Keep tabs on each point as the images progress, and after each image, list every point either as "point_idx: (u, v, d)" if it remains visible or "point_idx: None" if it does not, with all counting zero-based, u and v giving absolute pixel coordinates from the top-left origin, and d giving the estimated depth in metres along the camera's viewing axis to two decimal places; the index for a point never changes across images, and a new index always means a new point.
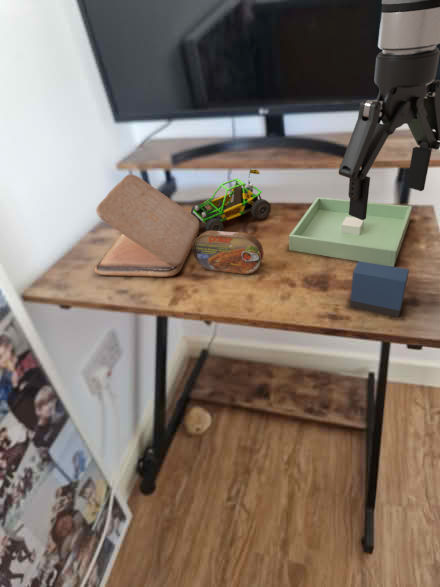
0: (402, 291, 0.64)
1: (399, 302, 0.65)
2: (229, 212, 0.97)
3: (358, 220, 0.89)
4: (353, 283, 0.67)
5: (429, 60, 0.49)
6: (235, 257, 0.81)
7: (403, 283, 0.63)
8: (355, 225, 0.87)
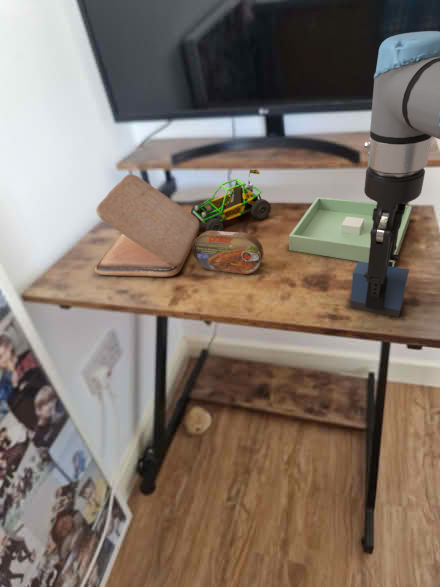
0: (402, 291, 0.64)
1: (399, 302, 0.65)
2: (229, 212, 0.97)
3: (358, 220, 0.89)
4: (353, 283, 0.67)
5: (423, 178, 0.54)
6: (235, 257, 0.81)
7: (403, 283, 0.63)
8: (355, 225, 0.87)
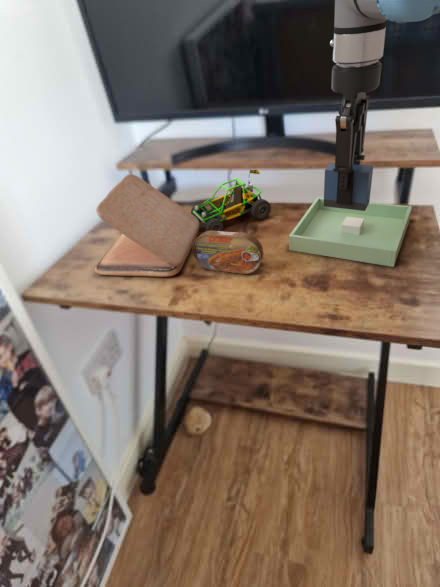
0: (367, 183, 0.73)
1: (365, 195, 0.74)
2: (229, 212, 0.97)
3: (358, 220, 0.89)
4: (325, 181, 0.76)
5: (379, 69, 0.63)
6: (235, 257, 0.81)
7: (367, 175, 0.72)
8: (355, 225, 0.87)
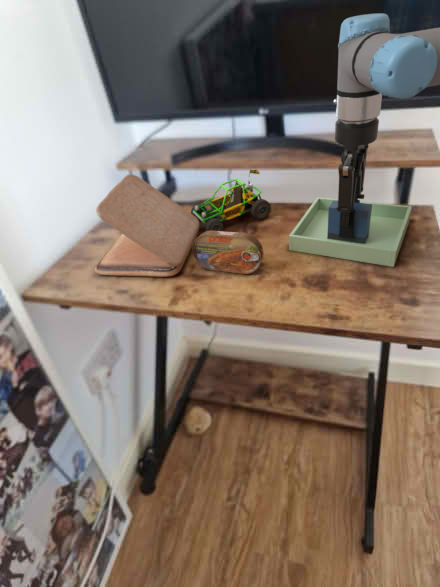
0: (366, 220, 0.81)
1: (364, 230, 0.83)
2: (229, 212, 0.97)
3: None
4: (329, 217, 0.85)
5: (377, 125, 0.71)
6: (235, 257, 0.81)
7: (366, 213, 0.81)
8: None
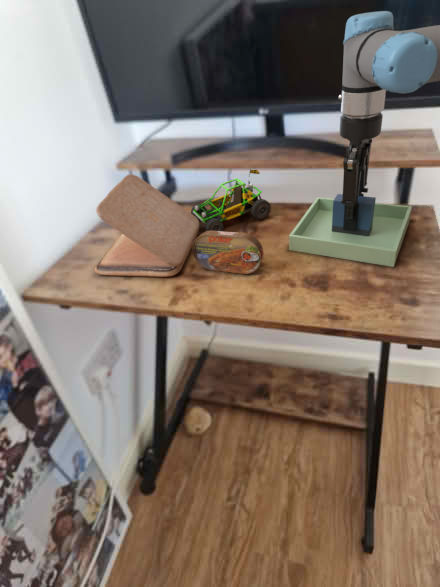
0: (370, 213, 0.84)
1: (368, 223, 0.85)
2: (229, 212, 0.97)
3: None
4: (333, 210, 0.87)
5: (381, 120, 0.74)
6: (235, 257, 0.81)
7: (370, 206, 0.83)
8: None
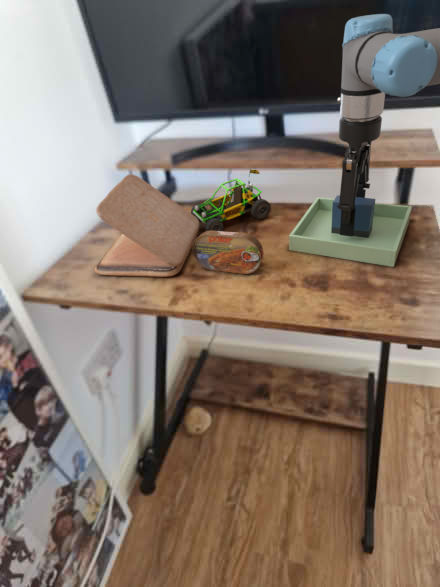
0: (369, 214, 0.83)
1: (368, 224, 0.85)
2: (229, 212, 0.97)
3: None
4: (333, 211, 0.87)
5: (380, 123, 0.73)
6: (235, 257, 0.81)
7: (370, 207, 0.82)
8: None
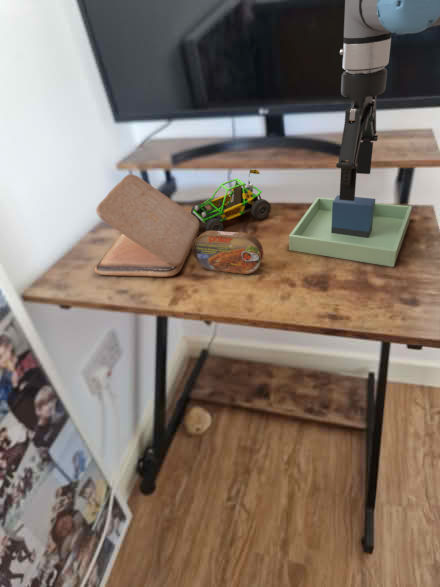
0: (369, 214, 0.83)
1: (368, 224, 0.85)
2: (229, 212, 0.97)
3: None
4: (333, 211, 0.87)
5: (385, 75, 0.68)
6: (235, 257, 0.81)
7: (370, 207, 0.82)
8: None
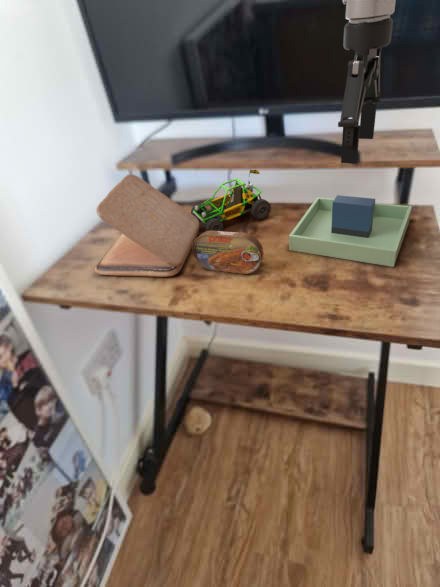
0: (369, 214, 0.83)
1: (368, 224, 0.85)
2: (229, 212, 0.97)
3: None
4: (333, 211, 0.87)
5: (391, 25, 0.64)
6: (235, 257, 0.81)
7: (370, 207, 0.82)
8: None
